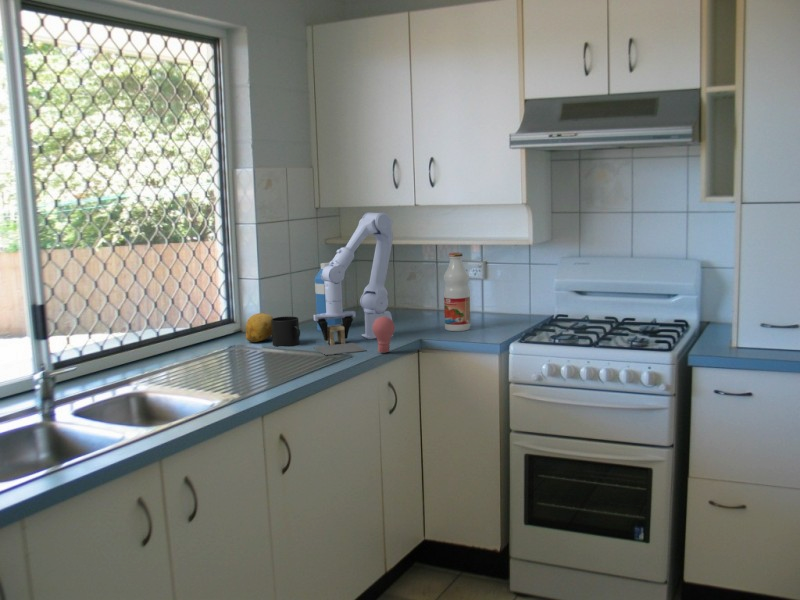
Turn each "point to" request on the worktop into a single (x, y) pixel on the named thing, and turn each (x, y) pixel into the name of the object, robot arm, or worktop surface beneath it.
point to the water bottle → (322, 298)
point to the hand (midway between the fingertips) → (335, 339)
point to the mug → (285, 331)
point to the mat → (340, 349)
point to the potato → (258, 327)
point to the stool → (339, 334)
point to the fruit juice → (456, 295)
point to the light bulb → (383, 332)
